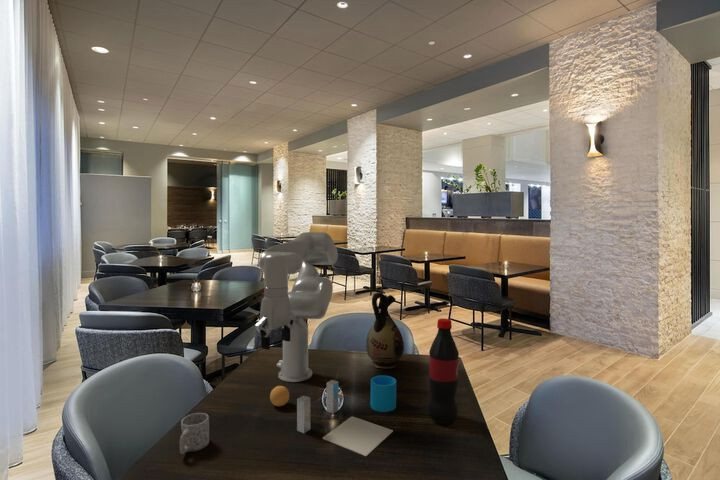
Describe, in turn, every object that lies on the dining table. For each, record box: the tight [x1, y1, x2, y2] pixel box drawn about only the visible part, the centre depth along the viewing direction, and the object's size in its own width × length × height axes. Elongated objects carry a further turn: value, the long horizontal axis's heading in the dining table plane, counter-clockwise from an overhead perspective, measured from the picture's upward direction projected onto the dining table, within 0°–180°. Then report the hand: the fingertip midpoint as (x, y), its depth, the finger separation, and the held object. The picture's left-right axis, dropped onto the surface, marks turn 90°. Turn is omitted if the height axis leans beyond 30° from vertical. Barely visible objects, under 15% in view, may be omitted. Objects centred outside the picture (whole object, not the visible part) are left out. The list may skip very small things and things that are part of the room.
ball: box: [269, 385, 290, 407], centre depth 121 cm, size 6×6×6 cm
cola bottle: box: [427, 317, 459, 425], centre depth 113 cm, size 8×8×30 cm
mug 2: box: [369, 375, 397, 413], centre depth 124 cm, size 12×8×8 cm
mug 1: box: [179, 412, 210, 455], centre depth 98 cm, size 10×7×7 cm, turn 174°
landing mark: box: [322, 416, 394, 457], centre depth 105 cm, size 14×14×1 cm
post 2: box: [326, 379, 339, 414], centre depth 118 cm, size 3×3×9 cm
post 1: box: [296, 395, 311, 434], centre depth 107 cm, size 3×3×9 cm
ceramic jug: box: [365, 292, 405, 370], centre depth 155 cm, size 17×15×30 cm
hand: (276, 344), depth 125 cm, fingers open, 9 cm apart
